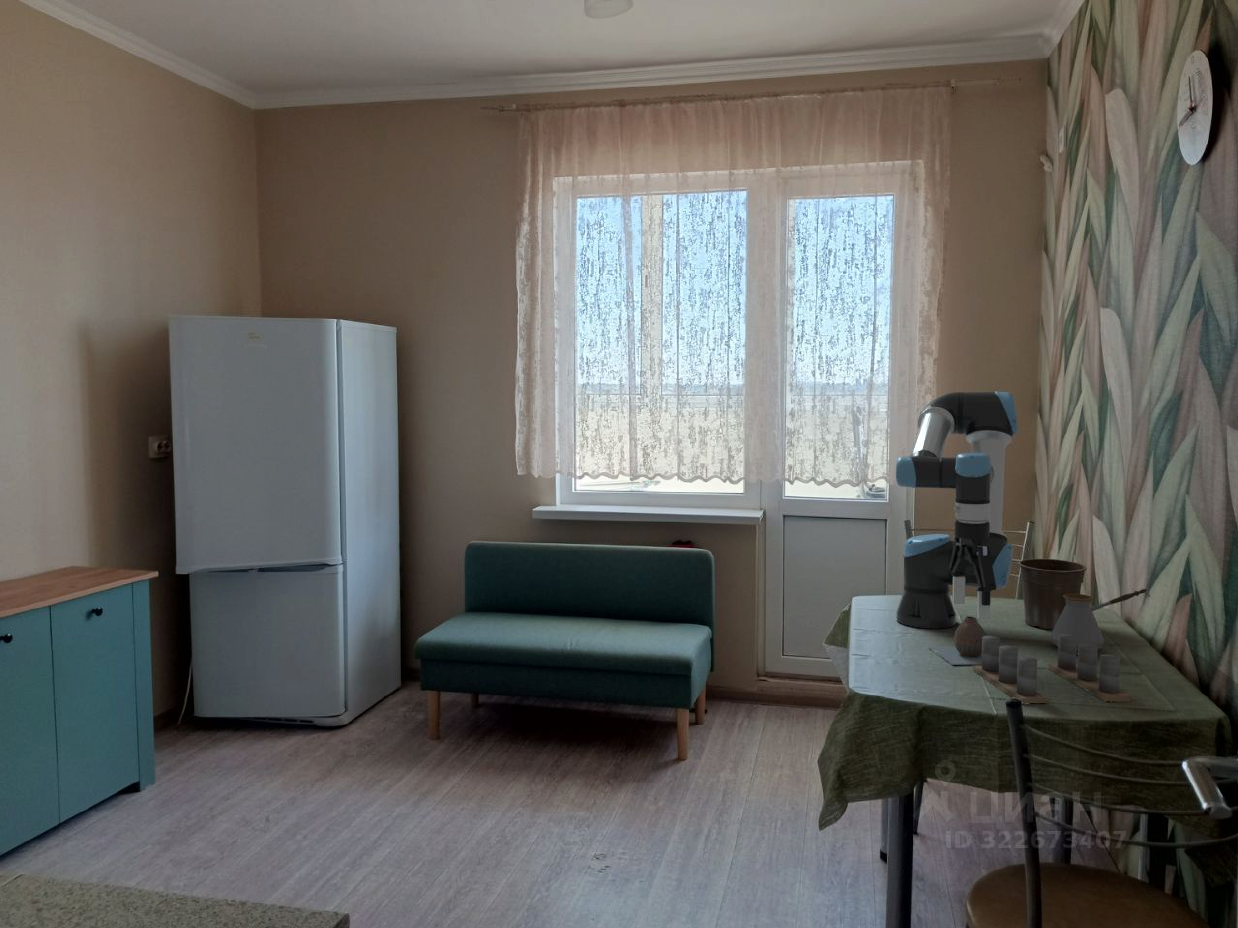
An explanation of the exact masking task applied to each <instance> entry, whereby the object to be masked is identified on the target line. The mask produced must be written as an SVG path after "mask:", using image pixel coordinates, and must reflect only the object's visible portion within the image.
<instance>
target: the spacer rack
mask: <svg viewBox="0 0 1238 928" xmlns="http://www.w3.org/2000/svg"><path fill="white" fill-rule="evenodd" d="M1076 650H1077V636H1075V635H1072V634H1059V635H1058V646H1057V663H1048V670H1049V671H1051V672H1053V673H1055V674H1056V673H1057V674H1056V675H1058V676H1060V677H1062V678H1063V679H1065V678H1067V679H1069V680H1070V681H1072V682H1074V683H1076V684H1078V685H1079V686H1081V687H1082V688H1084V689H1086V690H1088V691H1089V692H1091V693H1093V694H1094V695H1096V696H1097V697H1099V698H1100V699H1099V698H1098V699H1099V700H1101V699H1102V700H1101V701H1103V700H1104V701H1111V702H1110V703H1113V702H1112V701H1116V702H1115V703H1117V702H1120V703H1121V702H1126V703H1127V702H1130V701H1131V695H1130V694H1128V693H1126V692H1124V691H1122V690H1121V689H1120V680H1121V679H1120V678H1121V674H1120V673H1121V657H1120V656H1118V655H1115V654H1108V653H1107V654H1105V653H1104V654H1100V655H1099V671H1098V651H1099V649H1098V647H1097V646H1096V645H1093V644H1079V645H1078V654H1076ZM972 671H973V672H974V673H975V672H976V674H977V675H978V676H980V677H981V678H982V679H984V678H985V679H987V680H988V681H990V682H991V683H993V684H994V685H995V686H994V685H993V684H992V685H993V686H994V687H996V686H997V687H999V688H1000V689H1001V690H1003V691H1004V692H1006V693H1007V694H1008V695H1010V696H1009V697H1010V698H1011V697H1015V698H1012V699H1013V700H1014V699H1018V700H1021V701H1022V702H1023V704H1024V705H1026V704H1025V703H1046V704H1047V697H1046V696H1043V695H1042V694H1041V693H1040V692H1038V691H1037V687H1038V686H1037V679H1038V659H1037V658H1035V657H1031V656H1019V648H1018V647H1016V646H1012V645H1001V637H999V636H997V635H996V636H995V635H985V636H983V637H982V665H972ZM1098 672H1099V678H1098ZM985 679H984V680H985ZM1067 679H1066V680H1067ZM987 680H986V681H987ZM988 681H987V682H988ZM1070 681H1069V682H1070ZM990 682H989V683H990ZM1072 682H1071V683H1072ZM991 683H990V684H991ZM1079 686H1078V687H1079ZM997 687H996V688H997ZM1082 688H1081V689H1082ZM1000 689H999V690H1000ZM1084 689H1083V690H1084ZM1001 690H1000V691H1001ZM1003 691H1002V692H1003ZM1004 692H1003V693H1004ZM1089 692H1088V693H1089ZM1006 693H1005V694H1006ZM1091 693H1090V694H1091ZM1007 694H1006V695H1007ZM1008 695H1007V696H1008ZM1094 695H1093V696H1094ZM1096 696H1095V697H1096ZM1097 697H1096V698H1097ZM1104 701H1103V702H1104Z"/></svg>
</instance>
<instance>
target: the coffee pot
mask: <svg viewBox="0 0 1238 928" xmlns="http://www.w3.org/2000/svg"><path fill="white" fill-rule="evenodd" d="M1140 594H1145V595H1146V596H1147V598H1150V597H1151V595H1150V593H1149V591H1148V590H1147V589H1146V588H1143V589H1140V590H1135V591H1134V592H1132V593H1126V594H1122V595H1120V596H1117V597H1116V598H1114V599H1111V600H1109V601H1107V602H1103V603H1100V604H1097V605H1094V606H1091V602H1092V601H1093V600H1094V597H1093V596H1091V595H1086V594H1082V593H1080V594H1065V595H1063V597H1064V598H1065V602H1066V605H1065V607H1064V609H1063V611H1062V613H1061V615H1060V617H1059V619H1058V621H1057V623H1056V625H1055V627H1054V629H1053V630H1051V633H1050V636H1049V637H1050V639H1051V642H1052V643H1053V644H1054V645H1055V646H1056V647H1058V635H1059V634H1072V635H1075V636H1077V650H1076V653H1078V645H1079V644H1093V645H1096V646H1097V647H1098V650H1099V649H1101V648H1102V647H1103V646H1104V643H1105V638H1104V635H1103V634H1102V632H1101V629H1100V627H1099V625H1098V622H1097V620H1096V617H1095V615H1094V611H1097V610H1099V609H1102V608H1104V607H1105V608H1106V607H1107V606H1110V605H1114V604H1118V603H1121V602H1123V601H1128V600H1130V599H1131V598H1134V597H1138V596H1139V595H1140Z"/></svg>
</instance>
